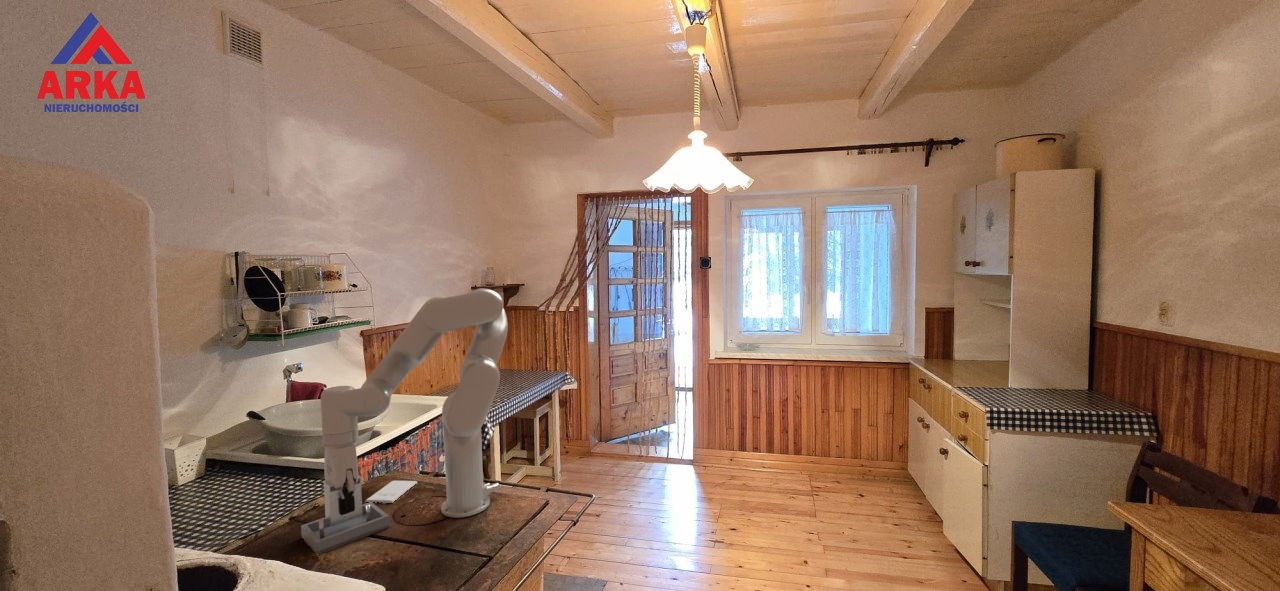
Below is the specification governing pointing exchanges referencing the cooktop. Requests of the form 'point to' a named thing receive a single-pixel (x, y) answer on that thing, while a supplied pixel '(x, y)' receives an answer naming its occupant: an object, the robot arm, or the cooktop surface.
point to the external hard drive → (391, 491)
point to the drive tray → (344, 529)
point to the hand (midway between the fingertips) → (344, 509)
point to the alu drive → (333, 503)
